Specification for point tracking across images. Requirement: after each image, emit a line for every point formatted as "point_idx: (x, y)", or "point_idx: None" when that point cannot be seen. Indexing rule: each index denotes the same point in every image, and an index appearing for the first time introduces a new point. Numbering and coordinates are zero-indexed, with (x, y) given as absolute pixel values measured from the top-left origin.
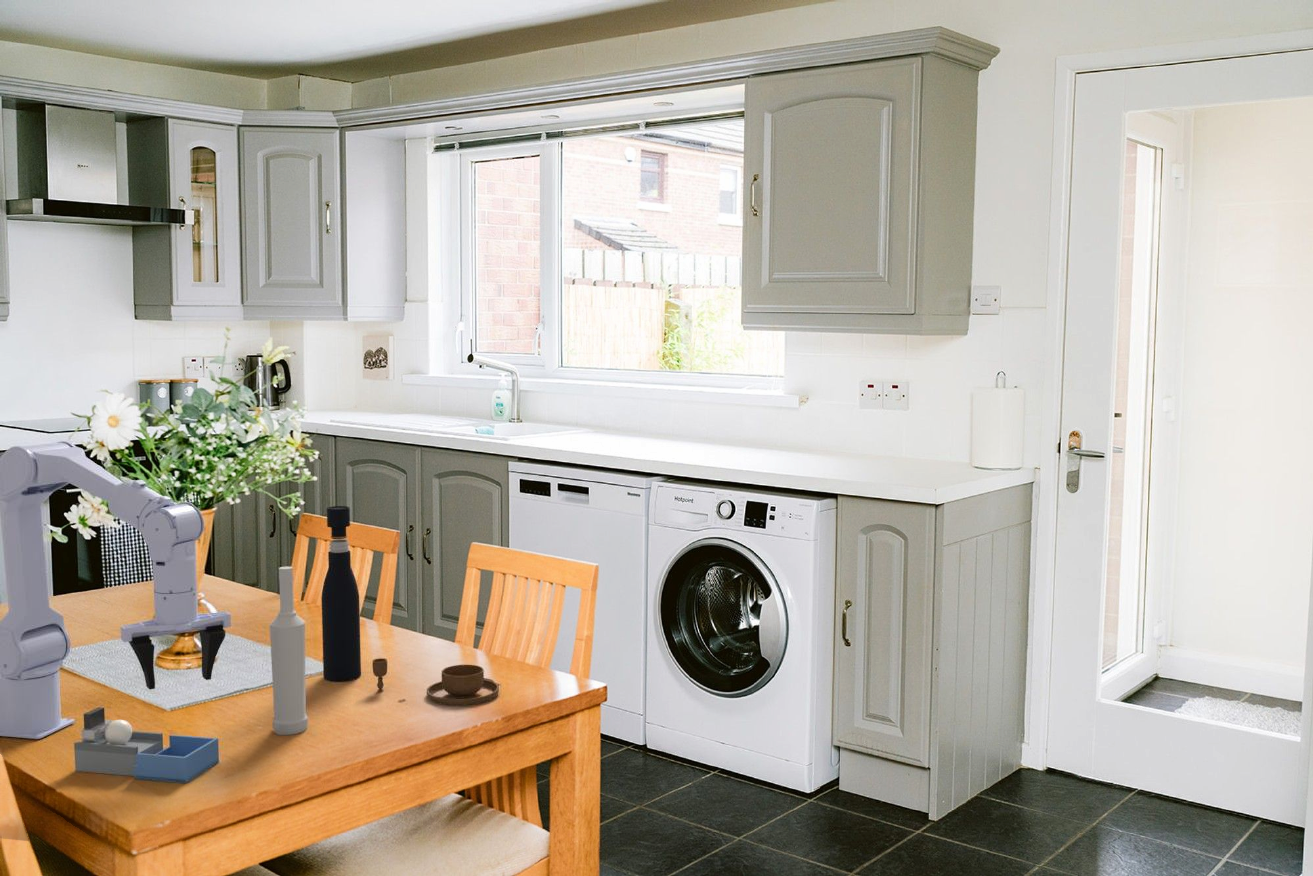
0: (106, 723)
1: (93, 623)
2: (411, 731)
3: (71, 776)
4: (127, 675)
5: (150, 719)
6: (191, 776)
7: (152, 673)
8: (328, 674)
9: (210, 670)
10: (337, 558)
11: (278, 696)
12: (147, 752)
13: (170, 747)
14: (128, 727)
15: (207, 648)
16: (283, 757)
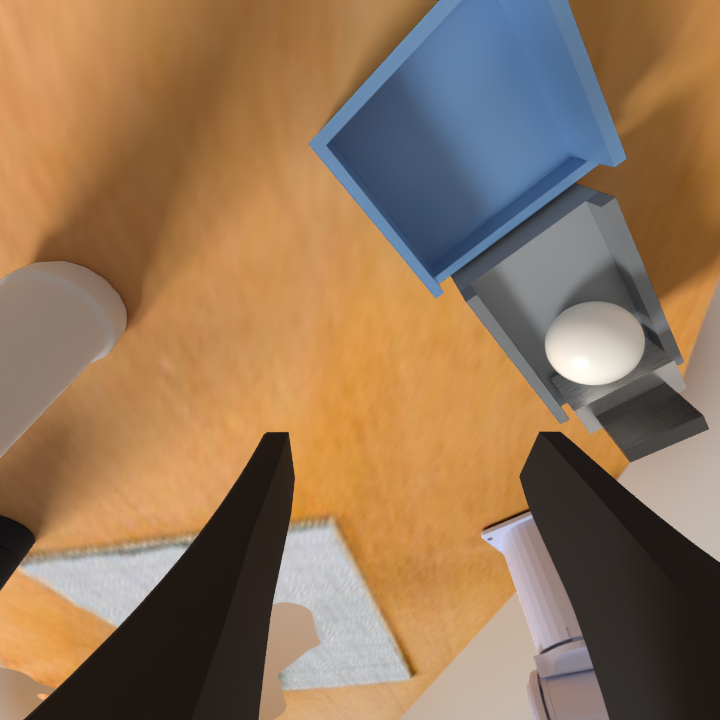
0: (603, 400)
1: (333, 710)
2: None
3: (658, 290)
4: (345, 626)
5: (373, 499)
6: None
7: (608, 497)
8: (9, 537)
9: (255, 466)
10: None
11: (24, 348)
12: (529, 232)
13: (434, 274)
14: (587, 330)
15: (230, 634)
16: (80, 21)
